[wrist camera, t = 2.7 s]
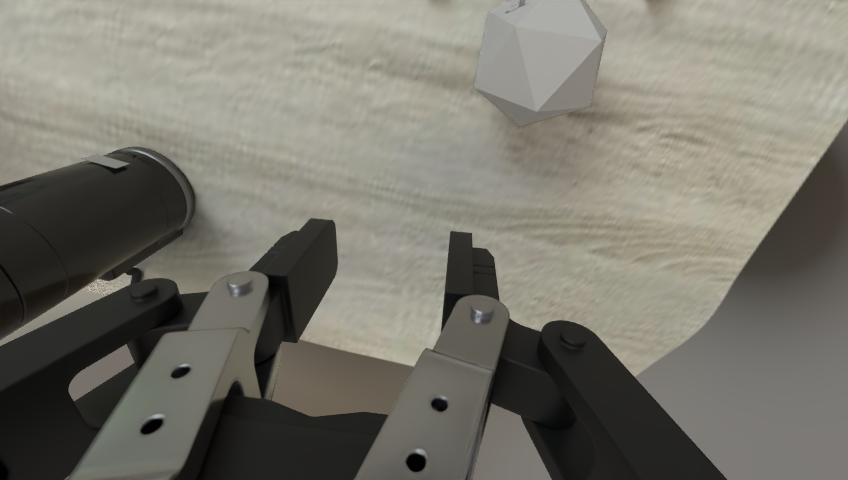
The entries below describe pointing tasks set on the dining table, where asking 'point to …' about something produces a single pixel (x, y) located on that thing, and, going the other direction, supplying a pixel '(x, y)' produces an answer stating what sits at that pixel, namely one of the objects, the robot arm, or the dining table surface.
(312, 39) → the dining table surface
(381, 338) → the dining table surface
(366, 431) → the robot arm
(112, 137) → the dining table surface
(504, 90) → the die
